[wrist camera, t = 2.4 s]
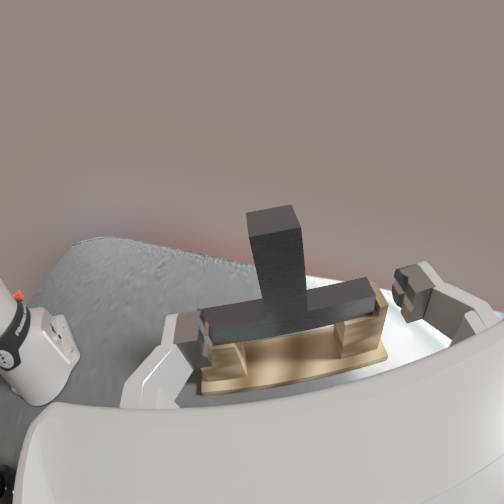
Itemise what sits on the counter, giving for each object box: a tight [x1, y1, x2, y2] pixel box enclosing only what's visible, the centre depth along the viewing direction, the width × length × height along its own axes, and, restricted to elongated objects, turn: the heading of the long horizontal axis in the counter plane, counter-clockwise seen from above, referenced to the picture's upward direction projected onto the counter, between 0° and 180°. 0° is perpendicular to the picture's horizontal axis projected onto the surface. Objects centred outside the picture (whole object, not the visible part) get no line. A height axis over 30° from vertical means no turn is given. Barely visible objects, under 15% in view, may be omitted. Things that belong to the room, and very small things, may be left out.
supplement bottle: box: [0, 465, 17, 504], centre depth 13 cm, size 7×7×12 cm
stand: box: [200, 281, 388, 396], centre depth 32 cm, size 24×7×10 cm, turn 95°
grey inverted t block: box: [197, 205, 376, 346], centre depth 27 cm, size 19×4×13 cm, turn 95°
